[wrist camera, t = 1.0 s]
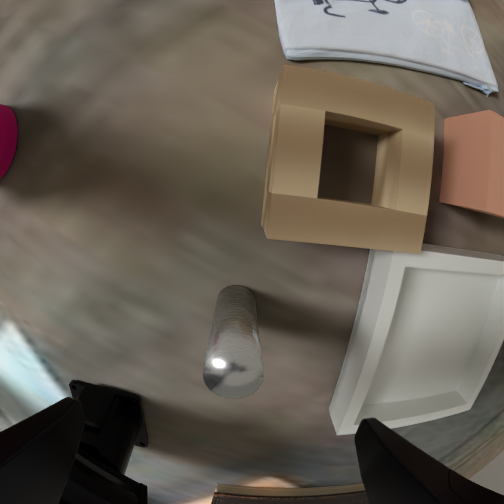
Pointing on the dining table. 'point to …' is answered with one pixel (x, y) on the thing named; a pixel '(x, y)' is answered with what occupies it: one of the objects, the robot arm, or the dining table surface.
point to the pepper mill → (7, 138)
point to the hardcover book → (290, 495)
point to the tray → (420, 337)
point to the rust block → (474, 163)
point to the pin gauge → (234, 345)
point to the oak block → (347, 163)
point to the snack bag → (389, 35)
